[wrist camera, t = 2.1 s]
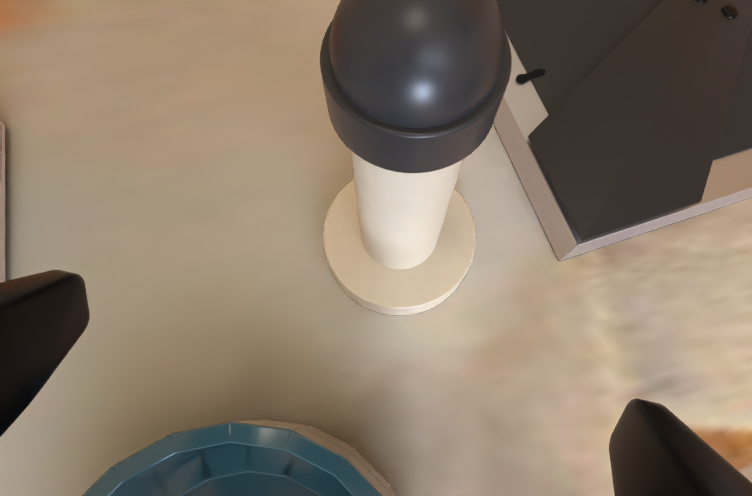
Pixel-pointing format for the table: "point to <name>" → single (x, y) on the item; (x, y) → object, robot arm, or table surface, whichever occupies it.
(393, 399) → the table surface
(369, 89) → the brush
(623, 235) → the picture frame
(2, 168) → the ink cartridge box
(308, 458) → the bowl
